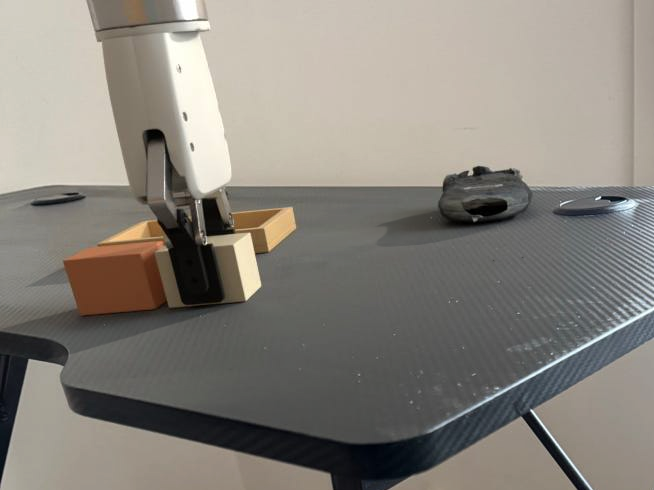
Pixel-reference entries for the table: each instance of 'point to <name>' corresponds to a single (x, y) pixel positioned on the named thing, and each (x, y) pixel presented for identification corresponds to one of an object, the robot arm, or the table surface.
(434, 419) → the table surface
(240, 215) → the tray
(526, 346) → the table surface
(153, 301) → the pad
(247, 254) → the pad
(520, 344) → the table surface
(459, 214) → the electronic device
